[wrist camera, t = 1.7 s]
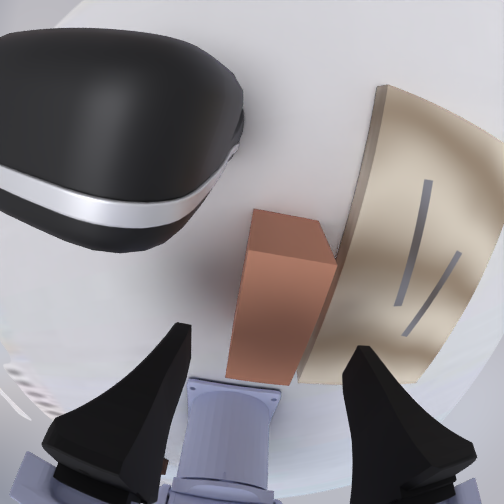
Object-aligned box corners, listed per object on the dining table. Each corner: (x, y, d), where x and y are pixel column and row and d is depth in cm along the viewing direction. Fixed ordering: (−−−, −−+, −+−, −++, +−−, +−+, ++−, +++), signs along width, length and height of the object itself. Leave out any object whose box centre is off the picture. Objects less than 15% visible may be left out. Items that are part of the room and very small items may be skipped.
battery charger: (262, 95, 13) (249, 22, 2) (235, 162, 14) (156, 295, 4) (139, 61, 12) (-44, 30, 1) (118, 125, 13) (-66, 181, 3)
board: (410, 370, 21) (415, 383, 20) (296, 368, 21) (297, 382, 20) (508, 151, 12) (522, 155, 11) (377, 86, 12) (388, 84, 10)
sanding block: (285, 328, 19) (288, 385, 15) (233, 320, 19) (225, 377, 15) (318, 220, 16) (337, 265, 11) (253, 208, 15) (248, 249, 11)
